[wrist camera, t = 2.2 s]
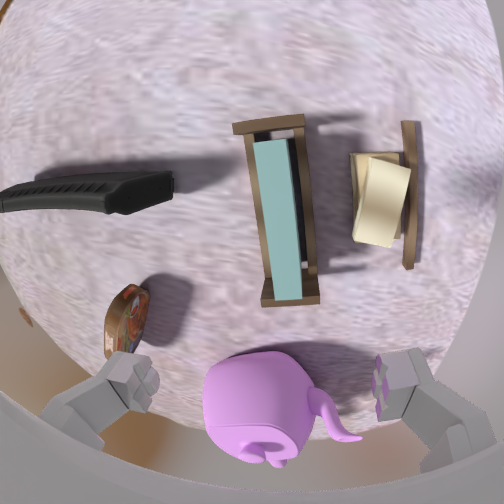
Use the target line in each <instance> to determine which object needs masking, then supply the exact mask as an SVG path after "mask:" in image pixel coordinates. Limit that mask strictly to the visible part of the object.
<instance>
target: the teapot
mask: <svg viewBox="0 0 504 504" xmlns="http://www.w3.org/2000/svg"><path fill="white" fill-rule="evenodd" d="M203 412H204V419H205V425H206V430H207V433H208V434H209V436H210V437H211V439H212V440H213V441H214V442H215V444H216V445H217V446H219V447H220V448H221V449H222V450H224V451H225V452H227V453H228V454H230V455H232V456H234V457H236V458H239V459H241V460H243V461H245V462H249V463H262V462H265V461H269V462H270V463H271V464H272V465H273V466H274V467H277V468H282V467H284V466H285V465H286V463H287V459H291V458H294V457H296V456H298V455H299V453H300V452H301V450H302V449H303V447H304V445H305V443H306V441H307V440H308V438H309V435H310V433H311V431H312V428H313V425H314V422H315V417H316V415H318V416H321V417H322V418H323V419H324V421H325V424H326V428H327V431H328V433H329V435H330V436H331V437H332V438H333V439H335V440H336V441H340V442H353V441H359V440H362V439H363V437H362V436H359V435H355V434H352V433H350V432H348V431H347V430H346V429H345V428H344V427H343V426H342V424H341V422H340V419H339V416H338V412H337V409H336V406H335V403H334V402H333V400H332V398H331V397H330V396H329V395H328V394H327V393H326V392H325V391H323V390H321V389H319V388H315V386H314V384H313V382H312V380H311V379H310V377H309V376H308V374H307V373H306V372H305V371H304V369H303V368H302V367H301V366H300V365H299V364H298V362H296V361H295V360H294V359H293V358H292V357H291V356H289V355H287V354H285V353H283V352H278V351H268V352H258V353H251V354H245V355H240V356H236V357H231V358H228V359H225V360H223V361H221V362H219V363H217V364H216V365H214V366H213V367H212V368H211V369H210V370H209V371H208V373H207V375H206V378H205V381H204V387H203Z"/></svg>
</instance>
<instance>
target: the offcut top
mask: <svg viewBox="0 0 504 504" xmlns="http://www.w3.org/2000/svg"><path fill="white" fill-rule="evenodd" d="M410 173H411V169H408V168H405V167H402V166H399V165H396V164H392V163H389V162H385V161H382V160H378V159H375V158H371V157H369V159H368V165H367V170H366V175H365V180H364V185H363V189H362V194H361V199H360V203H359V207H358V211H357V216H356V220H355V224H354V228H353V232H352V235H351V236H352V237H353V239H354V241H358V242H363V243H368V244H373V245H378V246H383V247H387V248H391V246H392V242H393V239H394V236H395V233H396V229H397V226H398V222H399V218H400V215H401V211H402V207H403V203H404V199H405V195H406V191H407V187H408V182H409V177H410Z"/></svg>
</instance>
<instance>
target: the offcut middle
mask: <svg viewBox="0 0 504 504" xmlns="http://www.w3.org/2000/svg"><path fill="white" fill-rule="evenodd" d="M353 155H354V164H355V175H356V188H357V203H358V207H359V203H360V199H361V194H362V189H363V185H364V180H365V175H366V170H367V165H368V159H369V157H371V158H375V159H378V160H382V161H385V162H389V163H392V164H396V165H399V154H398V153H365V154H353ZM400 235H401V215H400V218H399V222H398V226H397V229H396V233H395V236H394V239H400Z"/></svg>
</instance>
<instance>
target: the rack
mask: <svg viewBox="0 0 504 504" xmlns="http://www.w3.org/2000/svg"><path fill="white" fill-rule="evenodd" d="M304 126H305V119H304V114H296V115H286V116H277V117H270V118H262V119H255V120H249V121H243V122H237V123H232V127H233V134H234V135H243V136H244V143H245V149H246V155H247V162H248V168H249V174H250V181H251V187H252V194H253V200H254V207H255V213H256V220H257V226H258V233H259V240H260V246H261V253H262V260H263V267H264V273H265V281H264V286H263V290H262V295H261V299H260V300H261V306H262V307H282V306H299V305H314V304H320V292H319V284H318V276H317V259H316V243H315V229H314V216H313V205H312V194H311V184H310V175H309V166H308V158H307V150H306V142H305V135H304ZM401 127H402V136H403V148H404V164H405V168H408V169H411V173H410V177H409V182H408V187H407V191H406V195H405V234H404V250H403V262H402V265H403V266H404V267H405V269H406V270H410V269H414V260H415V250H416V237H417V221H418V162H417V146H416V134H415V124H414V121H407V120H406V121H401ZM290 129H293V130H294V137H295V144H296V152H297V159H298V167H299V175H300V184H301V193H302V203H303V213H304V223H305V234H306V247H307V260H308V269H301V270H302V299H294V300H277V301H275V295H274V288H273V280H272V272H271V265H270V258H269V250H268V243H267V236H266V229H265V222H264V215H263V208H262V201H261V194H260V187H259V180H258V174H257V167H256V161H255V154H254V148H253V143H257V142H256V136H255V134H258V133H265V132H273V131H281V130H290Z"/></svg>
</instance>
